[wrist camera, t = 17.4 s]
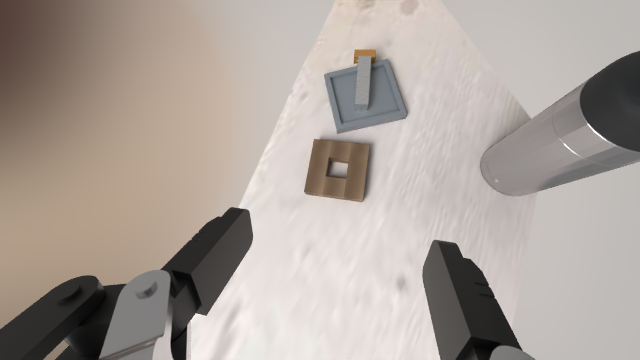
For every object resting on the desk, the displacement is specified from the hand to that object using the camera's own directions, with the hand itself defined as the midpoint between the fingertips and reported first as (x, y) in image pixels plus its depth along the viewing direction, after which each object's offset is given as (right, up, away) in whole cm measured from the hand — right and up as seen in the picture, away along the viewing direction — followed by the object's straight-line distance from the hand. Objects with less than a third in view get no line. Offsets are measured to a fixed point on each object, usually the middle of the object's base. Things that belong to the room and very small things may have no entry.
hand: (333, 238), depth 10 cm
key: (+7, +16, +32) cm, 37 cm away
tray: (+8, +19, +35) cm, 40 cm away
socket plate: (+3, +4, +31) cm, 31 cm away
